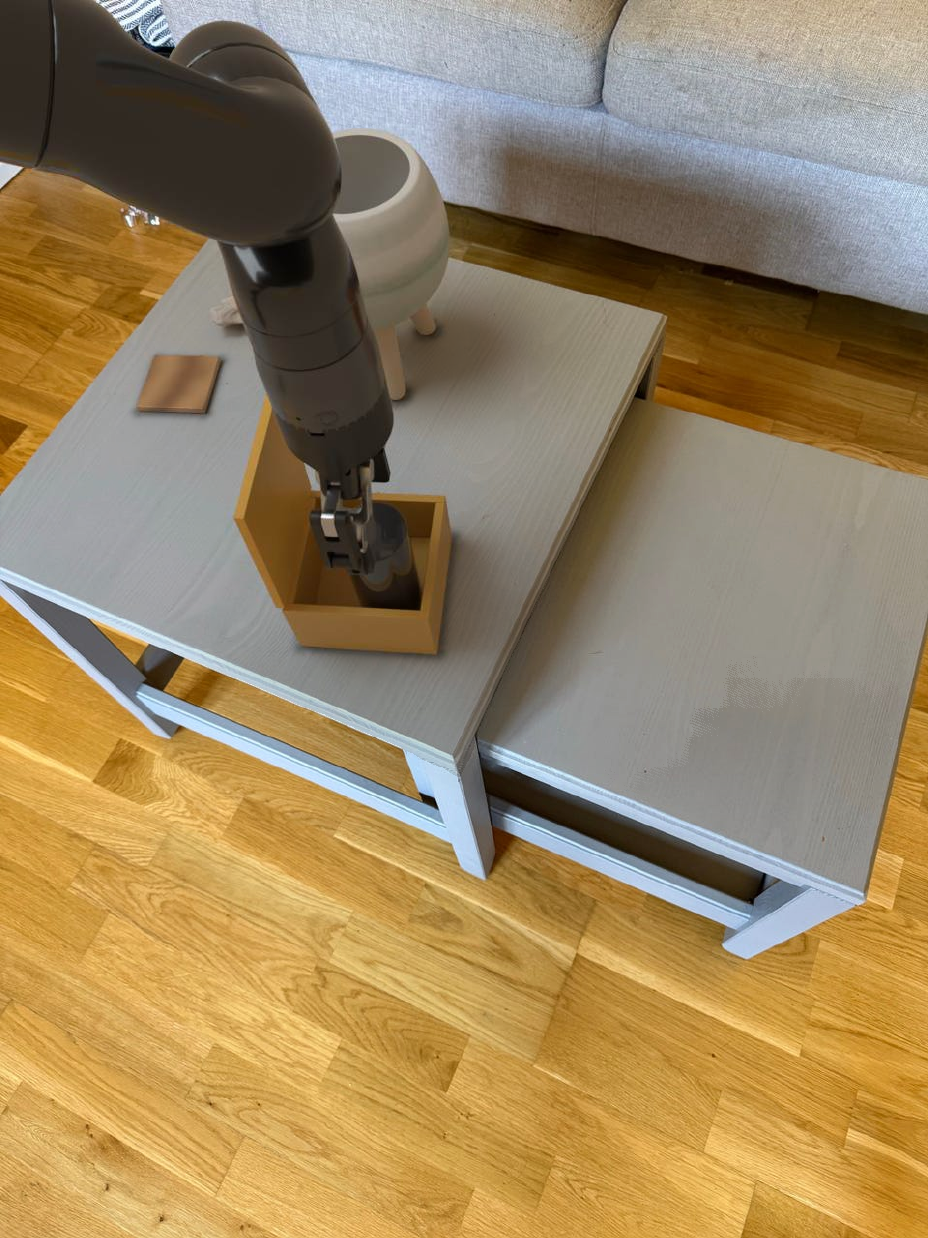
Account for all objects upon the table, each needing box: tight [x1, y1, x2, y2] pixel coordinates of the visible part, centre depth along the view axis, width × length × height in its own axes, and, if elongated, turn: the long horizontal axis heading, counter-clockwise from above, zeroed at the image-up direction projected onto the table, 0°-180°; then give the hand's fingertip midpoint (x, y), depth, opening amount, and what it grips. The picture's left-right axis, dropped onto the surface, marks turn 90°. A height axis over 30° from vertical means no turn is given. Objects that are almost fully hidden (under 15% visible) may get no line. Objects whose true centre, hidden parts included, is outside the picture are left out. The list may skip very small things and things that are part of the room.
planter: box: [332, 128, 451, 401], centre depth 89 cm, size 16×16×22 cm
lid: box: [232, 393, 313, 609], centre depth 73 cm, size 14×13×1 cm
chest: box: [281, 489, 453, 655], centre depth 82 cm, size 13×13×7 cm
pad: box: [136, 354, 222, 414], centre depth 98 cm, size 8×8×1 cm
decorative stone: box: [209, 294, 243, 328], centre depth 102 cm, size 9×6×3 cm, turn 122°
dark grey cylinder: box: [349, 502, 423, 611], centre depth 78 cm, size 6×6×12 cm
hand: (369, 523), depth 71 cm, fingers open, 8 cm apart
